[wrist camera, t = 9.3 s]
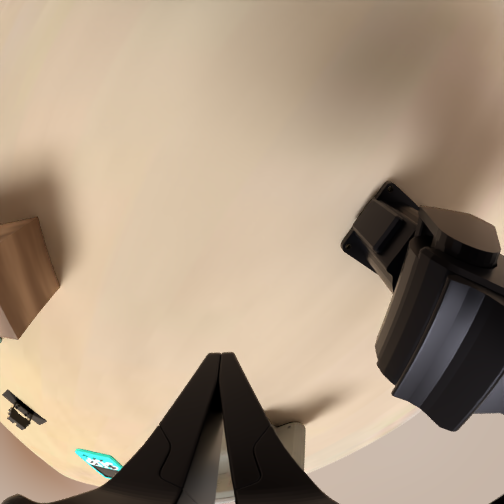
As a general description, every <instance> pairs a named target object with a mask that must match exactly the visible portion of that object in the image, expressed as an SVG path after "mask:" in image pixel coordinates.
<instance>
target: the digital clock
mask: <svg viewBox="0 0 504 504" xmlns="http://www.w3.org/2000/svg"><path fill="white" fill-rule="evenodd" d="M271 426H272V427H273V428H274V430H275V432H276V434H277V435H278V437H279V439H280V440H281V442H282V444H283V445H284V447H285V448H286V449H287V451H288V452H289V453H290V455H291V456H292V457H293V459H294V460H295V461H296V462H297V464H298V465H299V466H300V467H301V468H302V470H303V471H304V457H305V426H304V425H303V424H301V423H298V422H292V423H289V424H286V425H283V426H280V427H275V426H274V425H272V424H271ZM227 502H235V497H234V490H233V485H232V479H231V473H230V466H229V460H228V453H227V446H226V439H225V431H224V427H223V435H222V444H221V453H220V461H219V470H218V479H217V488H216V497H215V504H220V503H227Z"/></svg>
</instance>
